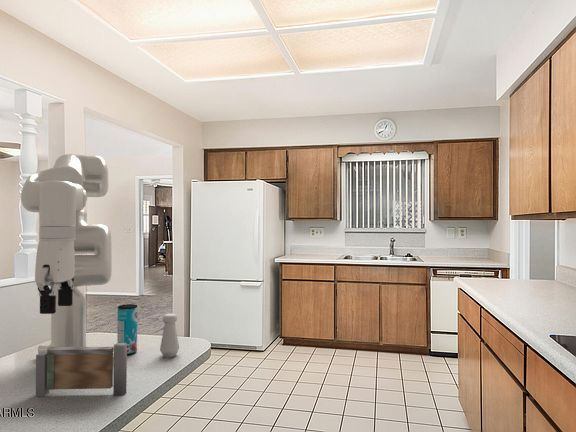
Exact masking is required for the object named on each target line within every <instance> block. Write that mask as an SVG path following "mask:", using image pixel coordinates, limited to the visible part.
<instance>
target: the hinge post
mask: <svg viewBox="0 0 576 432" xmlns="http://www.w3.org/2000/svg"><path fill="white" fill-rule="evenodd" d="M113 347H114V350H113V386H112V388H113V396H115V397H116V396H117V397H118V396H119V397H120V396H124V395H125V394H127V382H128V381H127V377H128V376H127V371H128V370H127V368H128V367H127V365H128V364H127V362H128V358H127V357H128V355H127V343H115V344H113Z"/></svg>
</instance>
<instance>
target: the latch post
mask: <svg viewBox="0 0 576 432" xmlns="http://www.w3.org/2000/svg"><path fill="white" fill-rule="evenodd" d="M48 394H50V390H47V352H41V353H37V354H36V355H35V397H37V398H38V397H41V398H42V397H45V396H47V395H48Z"/></svg>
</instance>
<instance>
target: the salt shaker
mask: <svg viewBox="0 0 576 432" xmlns="http://www.w3.org/2000/svg"><path fill="white" fill-rule="evenodd" d="M177 318H178V316H177V314H176V313H166V314H164V315H163V317H162V323H164V326H163V333H162V336H161V341H160V347H159V351H160V353H161V355H162V357H163V358H166V359H168V358H175V357H176V356H177V354H178V352H179V349H180V343H179V337H178V331H177V327H176V322H177V320H178V319H177Z"/></svg>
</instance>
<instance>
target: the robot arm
mask: <svg viewBox="0 0 576 432" xmlns="http://www.w3.org/2000/svg"><path fill="white" fill-rule="evenodd" d="M108 170H109V168H108V165H107V162H106V160H105V159H104V158H103V157H101V156H99V155H96V154H95V155H91V154H75V153H73V154H72V153H69V154H68V153H67V154H63V155H60V156H59V157H58V158H57V159H56V160H55V162H54V165H53V166H52V167H51V168H47V169H45V170H44V169H43V170H41V171H38V172H37V171H36V172H34V173H32V174H30V175H29V176H28V177H27V179H26V180H25V182H24V184H23V185H22V189H21V193H20V202H21V205H22V207H23V208H24V209H25V210H26V211H27V212H29V213H30V212H31V213H38V216H39V217H38V243H37V250H36V256H35V257H36V258H35V267H34V268H35V270H34V282H35V284H36V286H37V291H38V296H39V313H40V315H50V343H49V345H46V344H44V345H43V344H40V345H38V348H37V354H39V353H41V352H47V350H48V349H50V348H51V347H87V300H86V299H87V298H86V297H85V295H84V294H83V293H82V291H80V289H79V288H78V287H88V286H103V285H106V284H108V283H109V282H110V280H111V277H112V272H113V271H112V267H113V265H112V261H113V260H112V254H113V252H112V246H113V244H112V233H111V230H110V228H109V227H108V226H107V225H105V224H100V223H99V224H98V223H96V224H93V223H88V222H87V220H88V219H87V217H88V213H87V210H86V209H85V207H86V206H87V204H88V198H102V197H104V196H106V194H107V193H108V191H109V171H108Z"/></svg>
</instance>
